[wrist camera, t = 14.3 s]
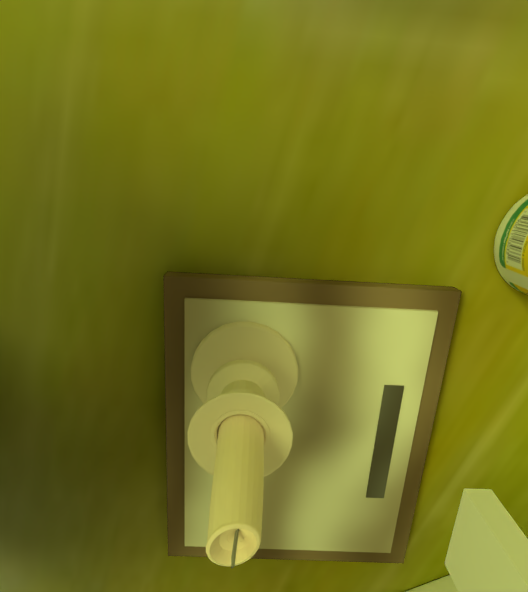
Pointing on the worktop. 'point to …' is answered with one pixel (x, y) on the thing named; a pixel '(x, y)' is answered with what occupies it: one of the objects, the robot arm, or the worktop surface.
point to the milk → (437, 586)
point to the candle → (240, 429)
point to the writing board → (318, 409)
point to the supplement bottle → (513, 246)
